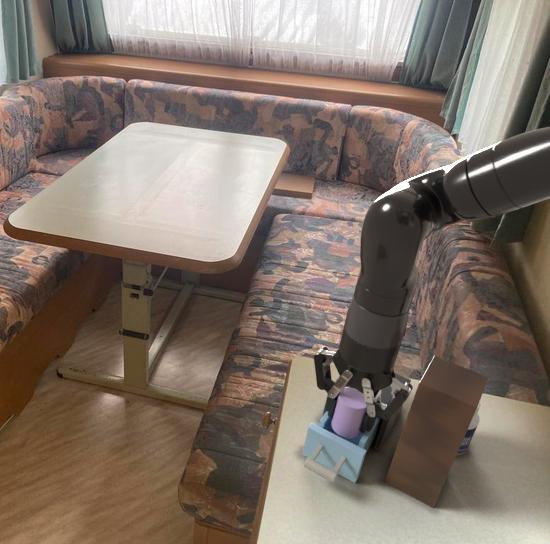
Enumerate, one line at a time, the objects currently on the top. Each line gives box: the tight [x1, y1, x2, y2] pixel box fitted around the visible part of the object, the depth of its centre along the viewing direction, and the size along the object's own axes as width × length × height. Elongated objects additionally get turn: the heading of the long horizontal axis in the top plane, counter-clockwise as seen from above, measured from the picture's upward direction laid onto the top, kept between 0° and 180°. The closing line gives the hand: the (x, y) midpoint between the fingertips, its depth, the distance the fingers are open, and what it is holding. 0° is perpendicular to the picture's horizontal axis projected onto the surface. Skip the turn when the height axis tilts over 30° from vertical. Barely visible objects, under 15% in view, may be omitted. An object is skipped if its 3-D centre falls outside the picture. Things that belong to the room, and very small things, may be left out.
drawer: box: [301, 411, 382, 484], centre depth 85 cm, size 14×8×6 cm, turn 145°
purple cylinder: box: [331, 387, 367, 438], centre depth 84 cm, size 4×4×6 cm
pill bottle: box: [456, 401, 481, 456], centre depth 88 cm, size 5×5×10 cm
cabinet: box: [321, 372, 412, 450], centre depth 93 cm, size 11×10×8 cm
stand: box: [384, 355, 489, 509], centre depth 79 cm, size 7×7×20 cm
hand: (348, 421), depth 85 cm, fingers closed on purple cylinder, 4 cm apart
